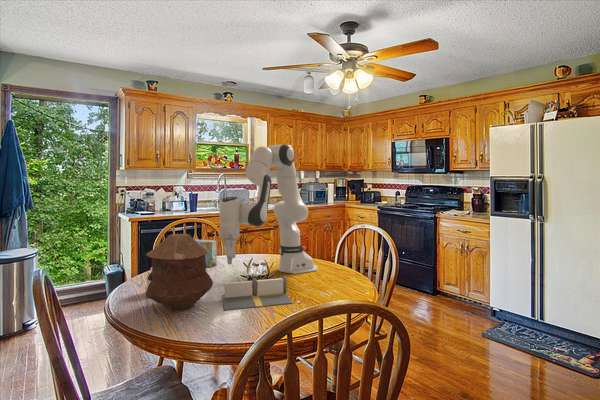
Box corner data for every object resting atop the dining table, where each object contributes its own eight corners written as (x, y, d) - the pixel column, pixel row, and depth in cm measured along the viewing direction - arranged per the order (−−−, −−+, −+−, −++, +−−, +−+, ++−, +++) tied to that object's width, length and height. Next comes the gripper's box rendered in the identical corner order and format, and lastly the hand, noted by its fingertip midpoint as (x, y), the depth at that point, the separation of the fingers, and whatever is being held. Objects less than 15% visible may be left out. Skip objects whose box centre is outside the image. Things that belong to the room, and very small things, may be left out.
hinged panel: (252, 294, 157) (252, 280, 157) (252, 295, 156) (252, 281, 155) (223, 296, 154) (223, 282, 153) (224, 298, 152) (223, 284, 152)
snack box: (217, 265, 210) (216, 240, 209) (212, 267, 205) (211, 242, 204) (187, 262, 217) (186, 238, 216) (181, 264, 212) (180, 239, 211)
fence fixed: (285, 291, 162) (285, 276, 161) (286, 293, 160) (286, 277, 159) (252, 294, 157) (252, 278, 157) (253, 296, 156) (252, 279, 155)
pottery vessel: (156, 325, 127) (153, 243, 125) (140, 304, 147) (137, 233, 145) (223, 309, 142) (222, 235, 140) (200, 292, 163) (199, 227, 160)
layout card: (282, 289, 165) (282, 288, 165) (292, 303, 148) (292, 302, 148) (222, 295, 158) (222, 294, 158) (224, 310, 140) (224, 309, 140)
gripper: (239, 236, 149) (238, 269, 150) (234, 229, 168) (234, 258, 169) (223, 237, 147) (223, 270, 148) (221, 230, 167) (221, 258, 167)
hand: (229, 263), depth 159 cm, fingers closed
